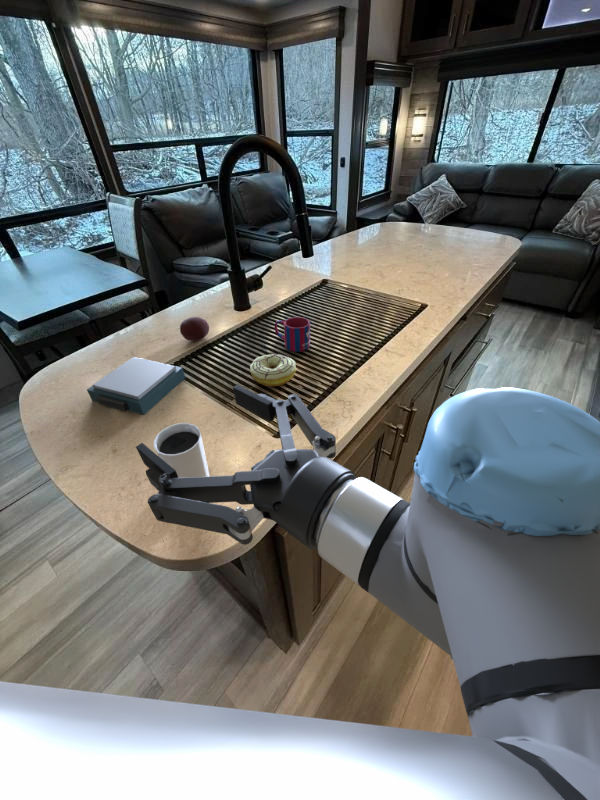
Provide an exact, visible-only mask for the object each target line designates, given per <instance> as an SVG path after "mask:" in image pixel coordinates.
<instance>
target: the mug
mask: <svg viewBox="0 0 600 800" xmlns="http://www.w3.org/2000/svg"><path fill="white" fill-rule="evenodd" d="M278 324H281V325H283V332H284V333H283V334H284V335H283V334H281V333H280V331H279V329H278ZM274 332H275V334H276V335H277V337H278V338H280V339H281V340H282V341H284V347H285V349H286V350H287V351H289V352H293V353H301V352H305V351H307V350H309V348H310V347H311V321H310V320H309V319H308V318H307V317H306V318H305V317H302V316H293V317H289V318H286V319H285V320H281V319H278V320H276V321H275V323H274Z"/></svg>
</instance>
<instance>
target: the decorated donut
mask: <svg viewBox="0 0 600 800" xmlns="http://www.w3.org/2000/svg"><path fill="white" fill-rule="evenodd" d="M249 369H250V375H251V377H252V378H253V380H254V381H255V382H256V383H258V384H260V385H262V386H266V387H278V386H284V385H285V384H287V383H288V382H290V381H291V380H292V379H293V378H294V376H295V374H296V372H297V366H296V361H295V360H294V359H292V358H291V357H289V356H286V355H284V354H279V353H278V354H277V353H273V354H264V355H261V356H257V357H256V358H255V359H254V360H253V361H252V362H251V364H250V366H249Z"/></svg>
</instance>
